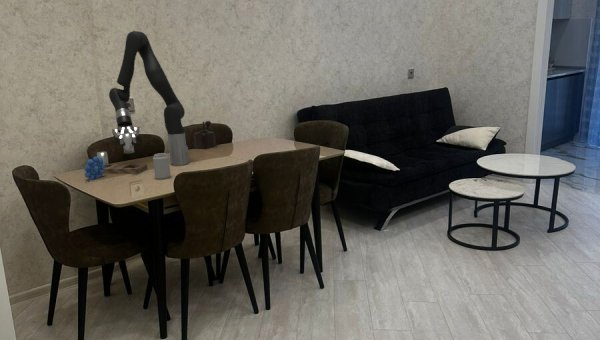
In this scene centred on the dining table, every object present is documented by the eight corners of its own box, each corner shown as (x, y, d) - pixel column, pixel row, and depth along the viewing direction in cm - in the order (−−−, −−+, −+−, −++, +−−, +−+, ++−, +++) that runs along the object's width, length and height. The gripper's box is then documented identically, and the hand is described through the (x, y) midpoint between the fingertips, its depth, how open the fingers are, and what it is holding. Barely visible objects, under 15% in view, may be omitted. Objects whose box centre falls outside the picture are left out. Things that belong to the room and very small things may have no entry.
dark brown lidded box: (193, 148, 330) (190, 120, 325) (205, 145, 338) (203, 118, 334) (210, 150, 321) (207, 121, 317) (222, 146, 329) (220, 119, 325)
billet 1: (111, 169, 273) (108, 151, 271) (105, 172, 268) (103, 153, 266) (102, 169, 274) (100, 151, 272) (97, 172, 269) (94, 153, 267)
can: (173, 177, 255) (171, 153, 252) (160, 180, 250) (158, 156, 247) (165, 175, 260) (162, 151, 257) (152, 178, 255) (149, 154, 252)
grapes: (101, 176, 263) (98, 153, 260) (109, 178, 259) (106, 154, 257) (80, 182, 254) (77, 158, 251) (89, 183, 250) (85, 159, 247)
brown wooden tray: (147, 170, 272) (146, 164, 271) (137, 175, 262) (136, 169, 261) (100, 170, 278) (99, 164, 277) (88, 175, 267) (87, 168, 267)
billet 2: (136, 151, 267) (133, 132, 265) (131, 153, 263) (128, 134, 260) (127, 151, 268) (125, 132, 266) (122, 153, 264) (119, 134, 261)
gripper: (109, 115, 265) (113, 142, 257) (137, 113, 271) (143, 139, 263) (109, 124, 271) (114, 151, 263) (137, 122, 277) (143, 147, 269)
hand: (128, 145), depth 263 cm, fingers closed on billet 2, 5 cm apart
